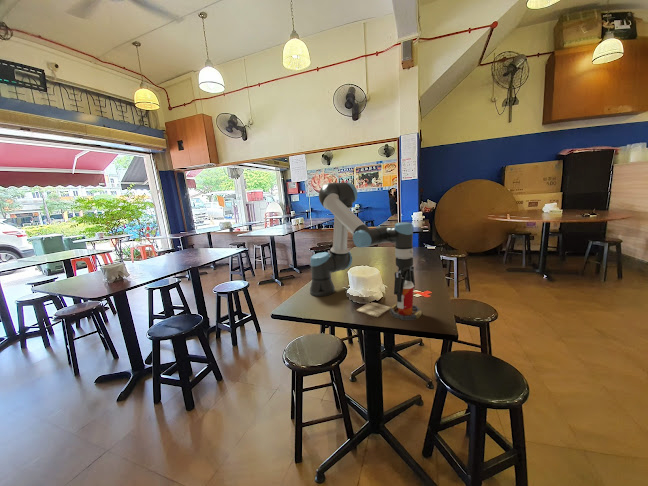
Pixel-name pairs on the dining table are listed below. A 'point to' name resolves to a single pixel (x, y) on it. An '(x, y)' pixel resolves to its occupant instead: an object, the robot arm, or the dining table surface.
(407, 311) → the coffee cup
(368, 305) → the plate
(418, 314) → the collar
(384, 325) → the dining table surface
